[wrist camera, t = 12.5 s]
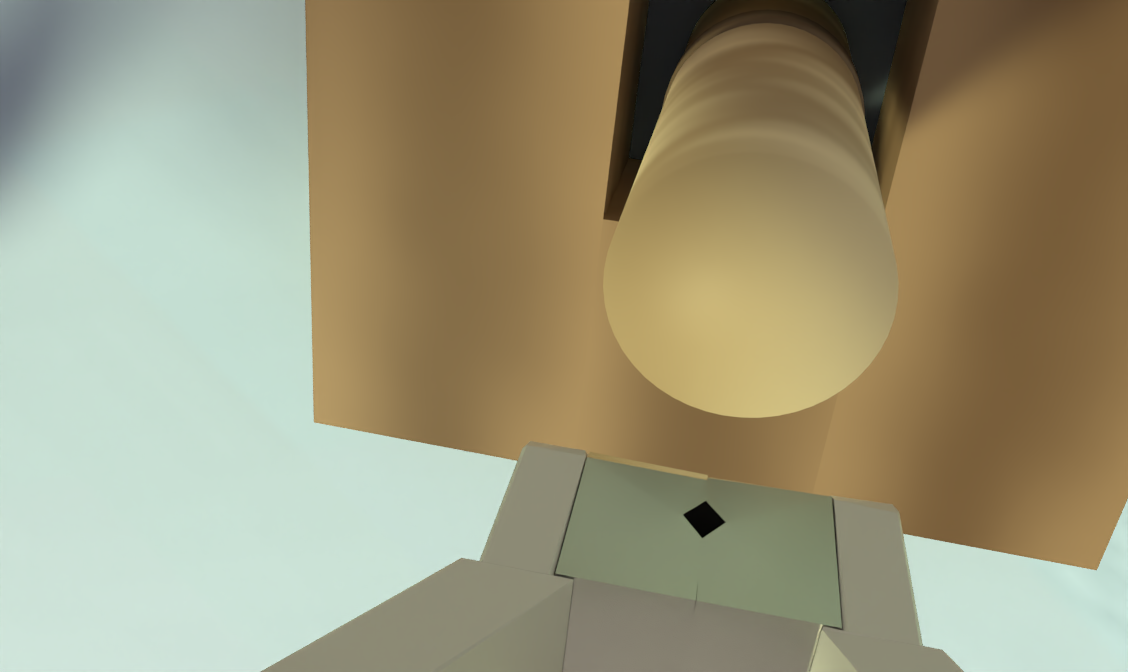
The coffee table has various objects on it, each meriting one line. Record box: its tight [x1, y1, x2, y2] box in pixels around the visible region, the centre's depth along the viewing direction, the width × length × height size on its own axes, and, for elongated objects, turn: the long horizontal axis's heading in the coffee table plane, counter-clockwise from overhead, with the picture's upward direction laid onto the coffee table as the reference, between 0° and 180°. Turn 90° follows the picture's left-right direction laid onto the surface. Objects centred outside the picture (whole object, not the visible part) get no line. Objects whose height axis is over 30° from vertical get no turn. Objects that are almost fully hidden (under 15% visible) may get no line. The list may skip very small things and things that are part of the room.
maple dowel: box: [603, 0, 899, 418], centre depth 18 cm, size 4×4×12 cm
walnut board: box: [305, 0, 1128, 570], centre depth 22 cm, size 18×18×4 cm
